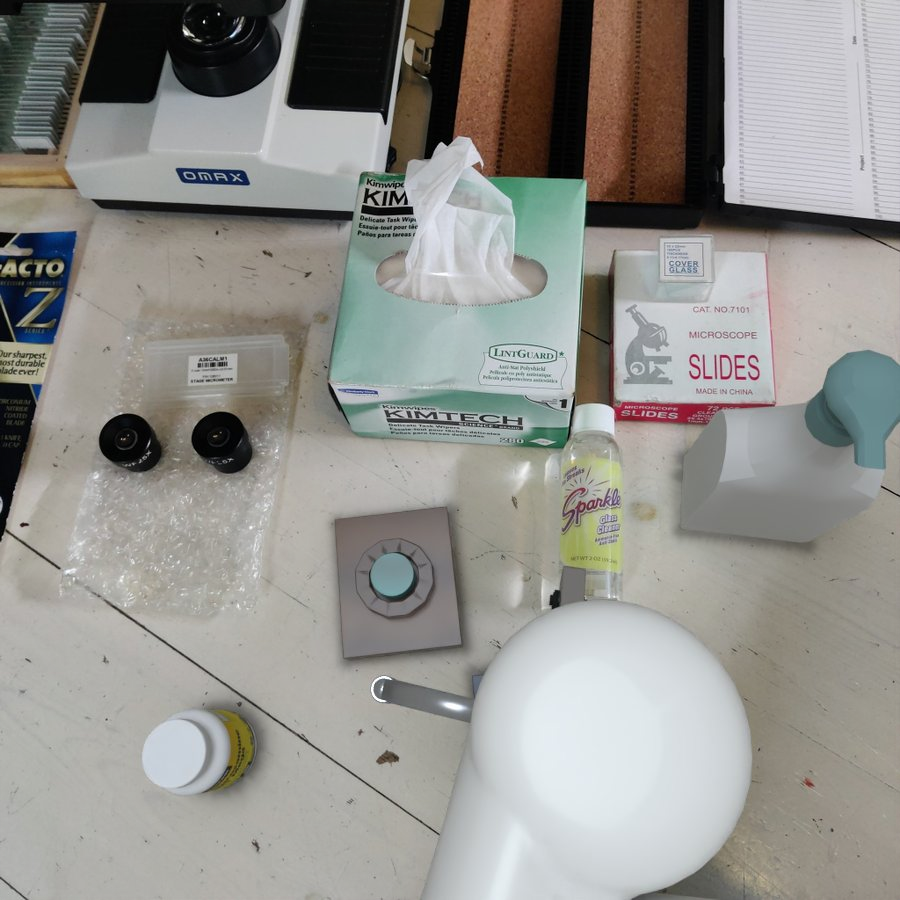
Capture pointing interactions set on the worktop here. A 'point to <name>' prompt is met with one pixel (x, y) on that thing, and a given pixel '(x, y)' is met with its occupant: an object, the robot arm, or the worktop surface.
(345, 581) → the button block
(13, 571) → the worktop surface
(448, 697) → the spout
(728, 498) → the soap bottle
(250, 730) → the pill bottle
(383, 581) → the button
